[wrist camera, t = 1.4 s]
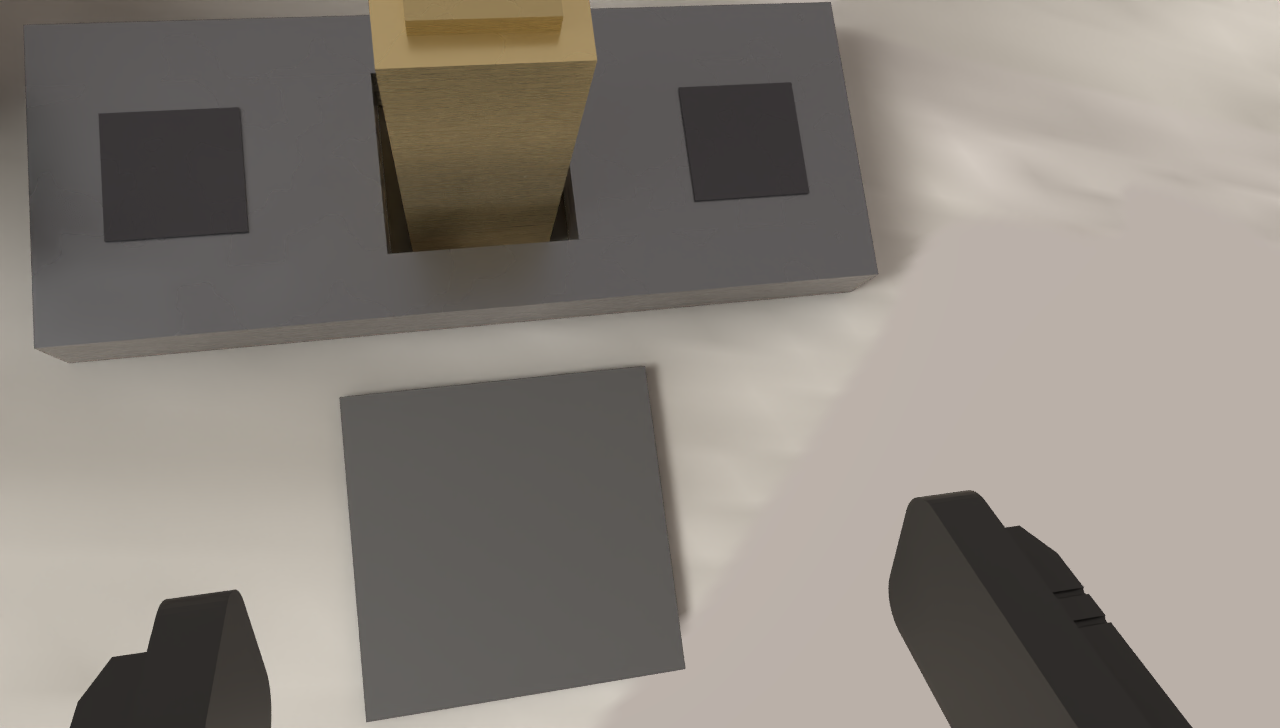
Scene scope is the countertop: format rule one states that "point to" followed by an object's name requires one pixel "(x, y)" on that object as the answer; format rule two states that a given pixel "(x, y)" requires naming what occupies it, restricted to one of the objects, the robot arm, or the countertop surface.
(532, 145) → the wooden square peg
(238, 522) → the countertop surface
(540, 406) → the rubber mat
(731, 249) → the grey slotted plate
